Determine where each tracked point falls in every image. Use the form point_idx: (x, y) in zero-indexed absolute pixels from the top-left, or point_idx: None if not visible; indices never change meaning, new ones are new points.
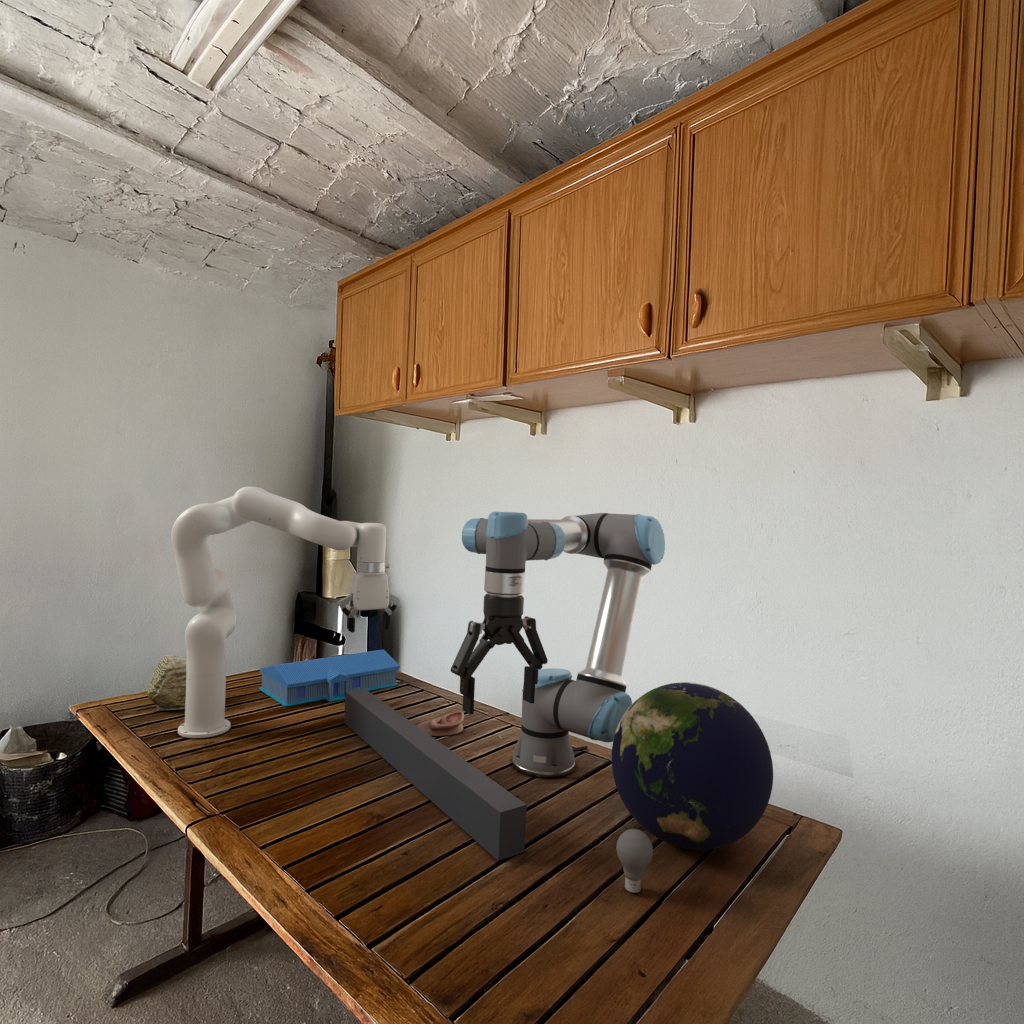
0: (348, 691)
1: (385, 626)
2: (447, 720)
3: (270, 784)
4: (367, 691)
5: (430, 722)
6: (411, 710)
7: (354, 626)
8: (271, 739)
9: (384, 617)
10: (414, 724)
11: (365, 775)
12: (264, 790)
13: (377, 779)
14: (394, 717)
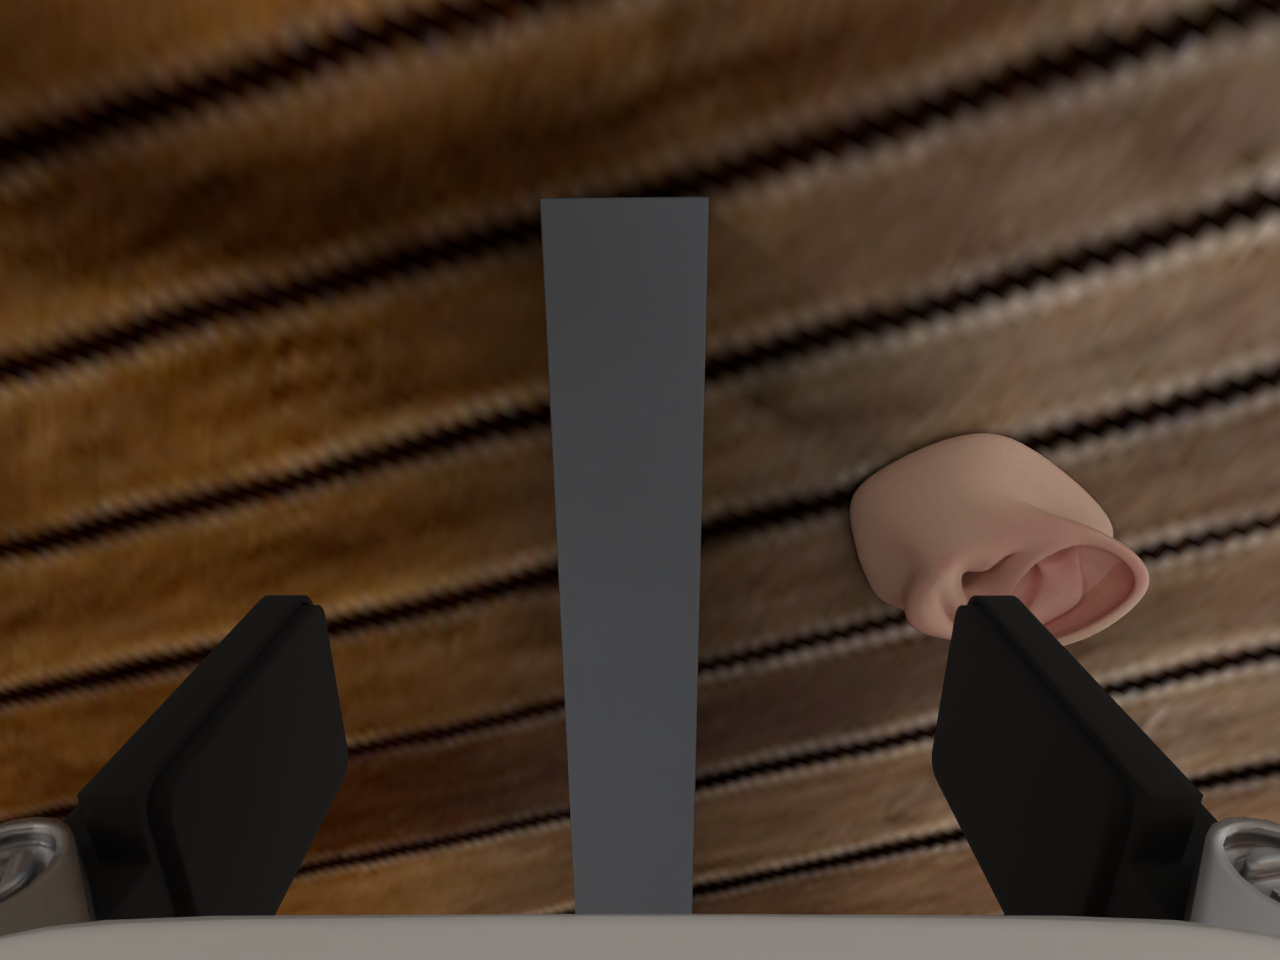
0: (563, 208)
1: (951, 791)
2: (1035, 566)
3: (126, 725)
4: (698, 275)
5: (922, 590)
6: (1035, 173)
7: (300, 847)
8: (131, 269)
9: (1049, 874)
10: (691, 895)
11: (468, 799)
12: (106, 756)
13: (497, 839)
14: (644, 788)
